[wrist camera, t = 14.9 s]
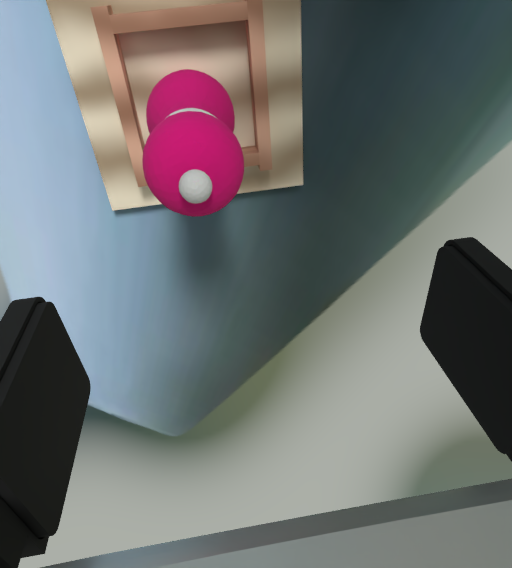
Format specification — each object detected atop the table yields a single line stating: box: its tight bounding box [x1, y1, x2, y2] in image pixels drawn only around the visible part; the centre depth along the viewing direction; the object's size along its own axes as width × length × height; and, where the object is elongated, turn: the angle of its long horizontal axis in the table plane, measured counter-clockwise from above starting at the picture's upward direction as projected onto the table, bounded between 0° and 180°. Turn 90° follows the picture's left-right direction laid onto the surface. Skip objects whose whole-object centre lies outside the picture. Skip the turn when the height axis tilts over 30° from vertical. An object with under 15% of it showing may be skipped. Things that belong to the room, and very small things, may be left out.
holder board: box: [46, 0, 303, 211], centre depth 36 cm, size 20×20×3 cm
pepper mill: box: [142, 69, 244, 216], centre depth 29 cm, size 7×7×20 cm
